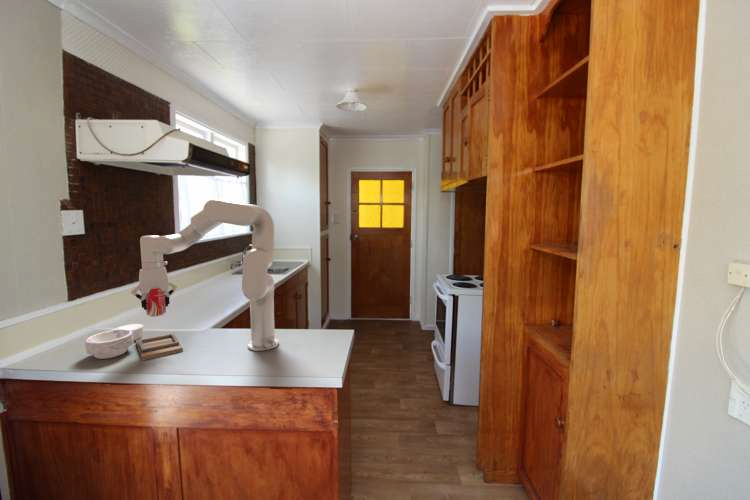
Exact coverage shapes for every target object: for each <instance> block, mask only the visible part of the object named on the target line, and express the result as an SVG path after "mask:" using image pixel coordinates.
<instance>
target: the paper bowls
mask: <svg viewBox="0 0 750 500" xmlns="http://www.w3.org/2000/svg"><path fill="white" fill-rule="evenodd" d="M133 344H134V341H133V332H132V331H131V330H126V329H120V330H114V329H112V330H107V331H103V332H99V333H96V334H93V335H91V336H88V337H87V338H86V339H85V341H84V345H85V351H86V354H89V355H92V356H93V357H94V358H96V359H100V360H101V359H102V360H106V359H107V360H108V359H112V358H116V357H119V356H122V355H124V354H125V353H126V352H127V351H128V349H129V348H130V347H131V346H132V345H133Z"/></svg>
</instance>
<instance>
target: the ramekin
mask: <svg viewBox="0 0 750 500" xmlns="http://www.w3.org/2000/svg"><path fill="white" fill-rule="evenodd" d="M120 329H126V330H131V331H132V332H133V342H134V341H136V340H140V339H142V336H143V332H144V331H143V330H144V324H142V323H129V324H125V325H120V326H117V327H115V328H114V329H113V330H120Z"/></svg>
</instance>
